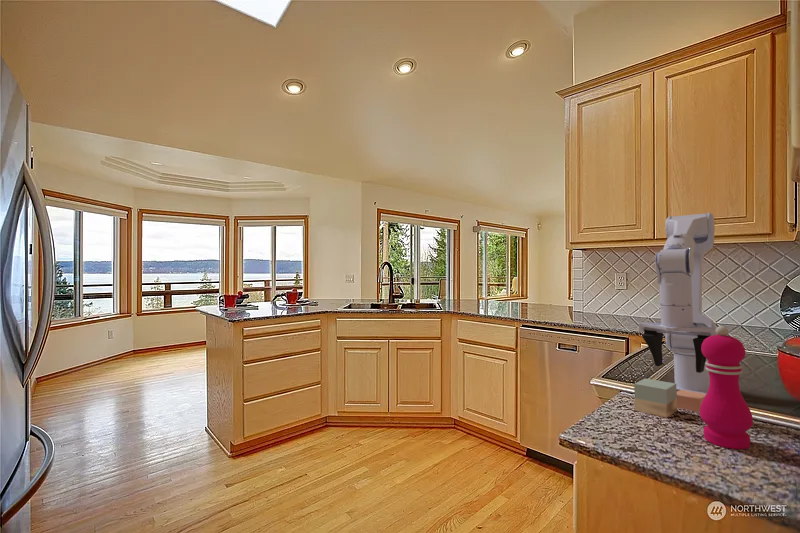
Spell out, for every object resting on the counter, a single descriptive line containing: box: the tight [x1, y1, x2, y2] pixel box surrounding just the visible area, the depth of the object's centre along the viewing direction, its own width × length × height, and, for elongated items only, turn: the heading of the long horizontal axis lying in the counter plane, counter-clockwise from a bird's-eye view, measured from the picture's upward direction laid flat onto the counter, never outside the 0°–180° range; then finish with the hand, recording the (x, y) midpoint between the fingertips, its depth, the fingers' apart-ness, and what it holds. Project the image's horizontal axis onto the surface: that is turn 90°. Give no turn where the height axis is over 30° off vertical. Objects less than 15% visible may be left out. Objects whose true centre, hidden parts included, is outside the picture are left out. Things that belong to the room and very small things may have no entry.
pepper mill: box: [699, 325, 754, 450], centre depth 70 cm, size 7×7×20 cm
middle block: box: [633, 378, 678, 404], centre depth 86 cm, size 6×6×3 cm
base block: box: [633, 396, 678, 418], centre depth 86 cm, size 6×6×3 cm
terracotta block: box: [677, 389, 706, 414], centre depth 87 cm, size 5×5×3 cm
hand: (678, 368), depth 86 cm, fingers open, 7 cm apart
